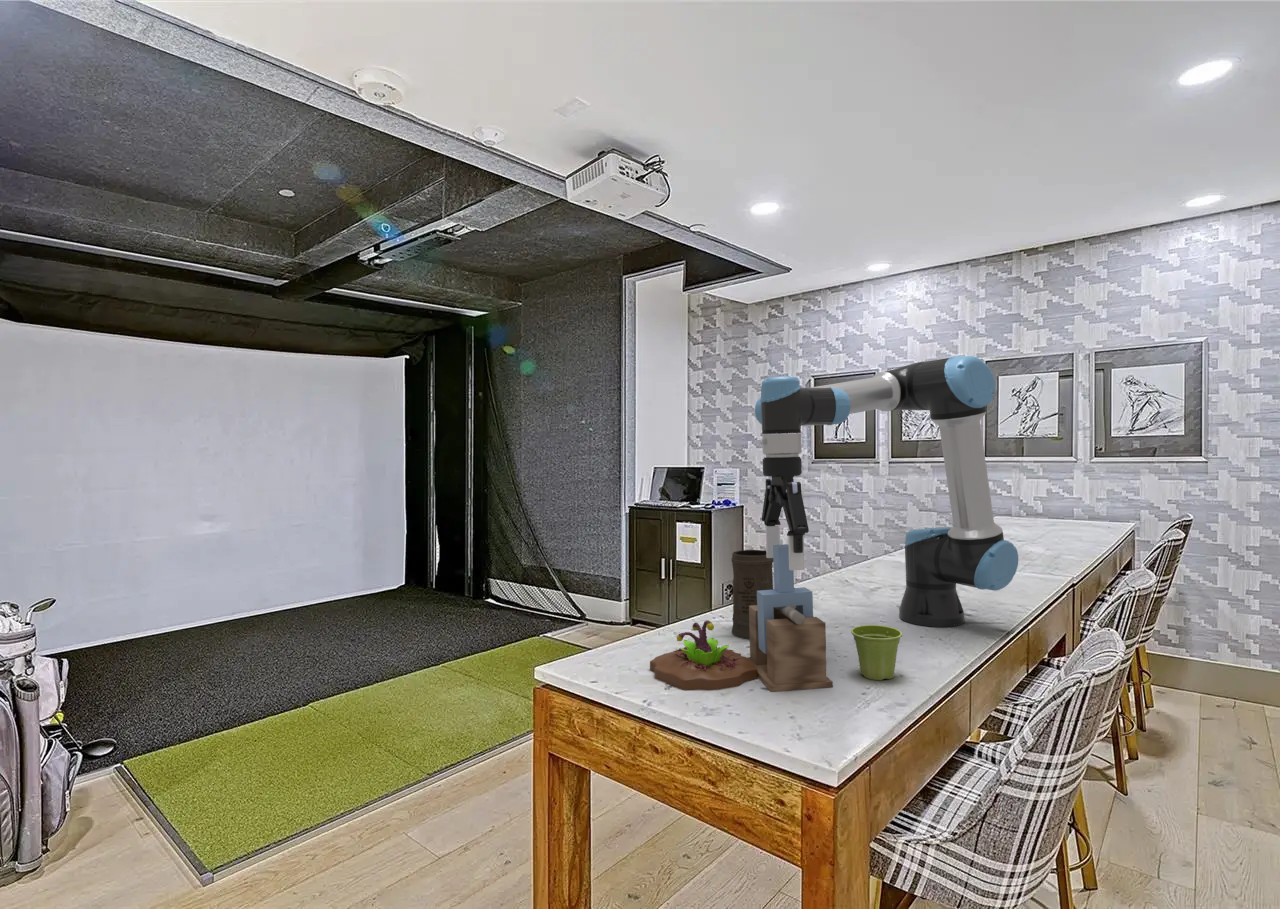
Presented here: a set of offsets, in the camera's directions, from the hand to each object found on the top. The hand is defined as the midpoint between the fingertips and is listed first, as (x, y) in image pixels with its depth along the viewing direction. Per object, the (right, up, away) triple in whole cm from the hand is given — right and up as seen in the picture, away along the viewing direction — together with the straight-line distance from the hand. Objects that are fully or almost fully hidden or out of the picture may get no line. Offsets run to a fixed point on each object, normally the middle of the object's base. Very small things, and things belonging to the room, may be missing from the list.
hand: (784, 563), depth 135 cm
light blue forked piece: (0, -17, 0) cm, 17 cm away
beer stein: (-1, -22, +32) cm, 38 cm away
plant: (-16, -23, +3) cm, 28 cm away
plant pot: (+18, -22, -2) cm, 28 cm away
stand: (+1, -22, 0) cm, 22 cm away
